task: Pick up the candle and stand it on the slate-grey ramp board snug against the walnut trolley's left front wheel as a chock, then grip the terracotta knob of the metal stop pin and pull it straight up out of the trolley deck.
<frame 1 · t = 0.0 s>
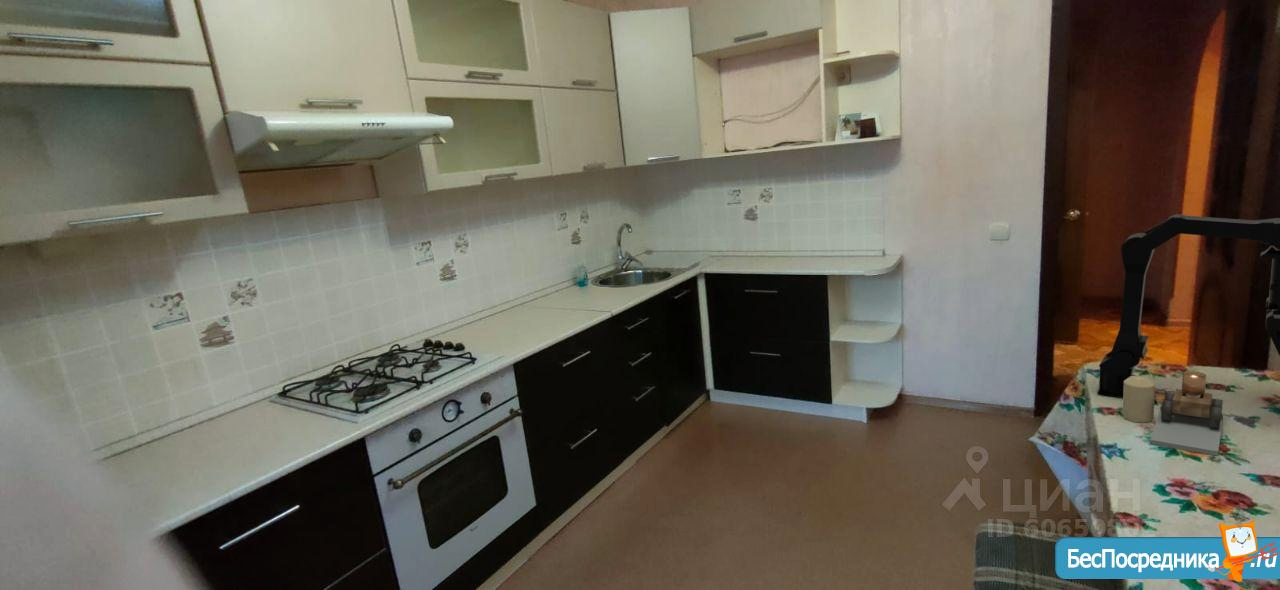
ramp board: (1186, 432, 133), on the table
stop pin: (1193, 393, 136), point 6 cm above the table, slide at 0.5 cm, touching ramp board
candle: (1137, 418, 142), on the table
trolley: (1190, 423, 137), resting on ramp board
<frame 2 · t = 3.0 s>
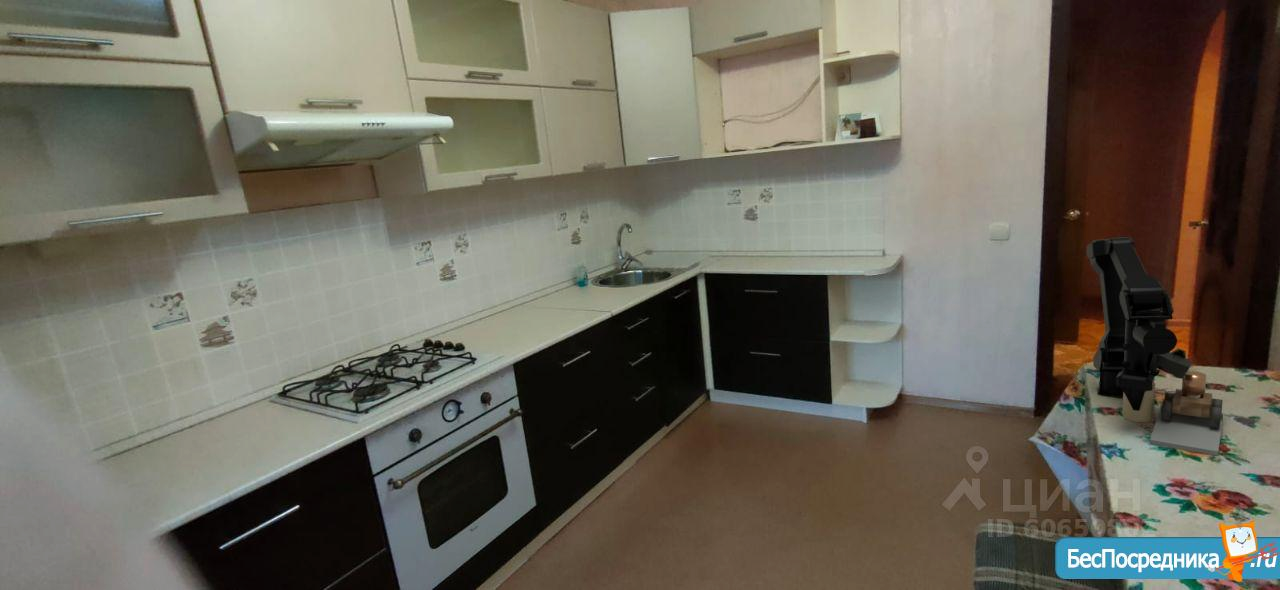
hand: (1138, 405, 142), 3 cm above the table, tool pointing down, fingers closed on candle, 5 cm apart
candle: (1137, 418, 142), on the table, touching gripper
everything else where it was.
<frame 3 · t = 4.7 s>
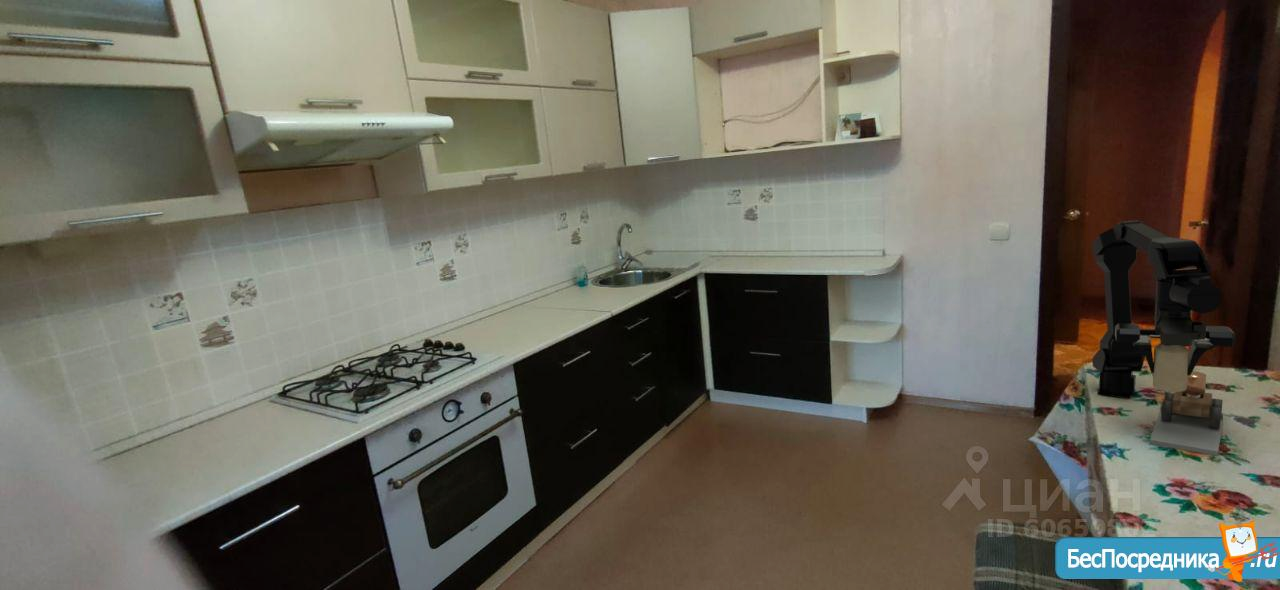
hand: (1170, 373, 132), 13 cm above the table, tool pointing down, fingers closed on candle, 5 cm apart
candle: (1169, 388, 132), point 10 cm above the table, touching gripper
everything else where it was.
when the fingers open (5 cm above the table, at t = 6.8 s): candle stays where it is, resting on ramp board.
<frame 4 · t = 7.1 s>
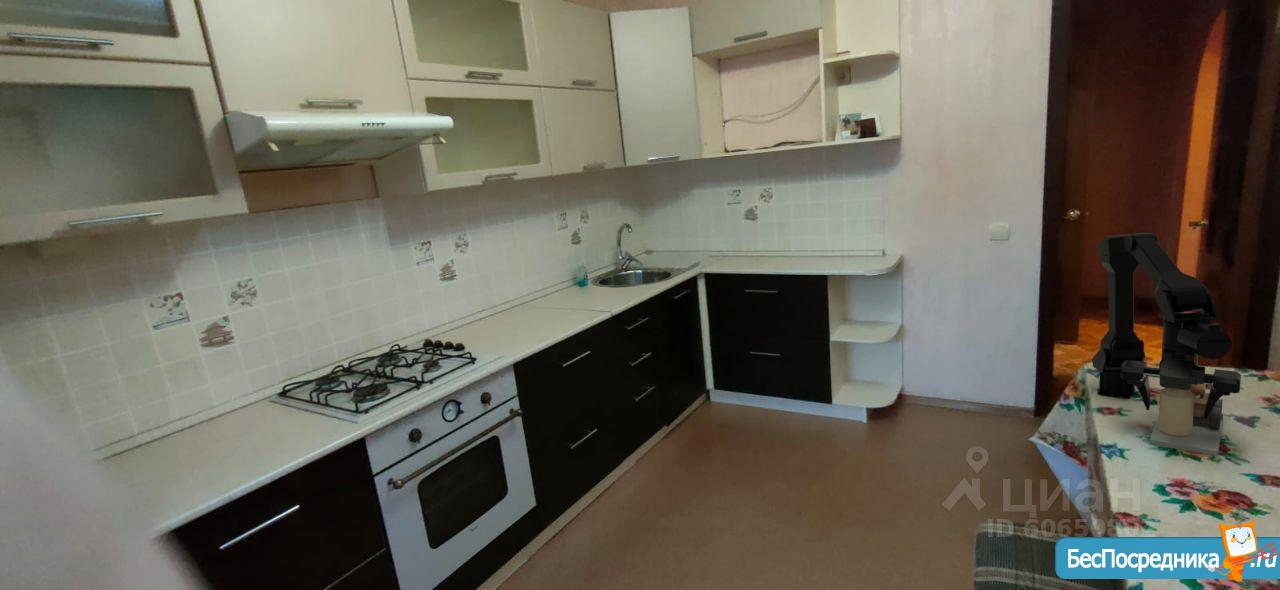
hand: (1176, 413, 132), 5 cm above the table, tool pointing down, fingers open, 9 cm apart
candle: (1174, 432, 133), point 1 cm above the table, touching ramp board
everything else where it was.
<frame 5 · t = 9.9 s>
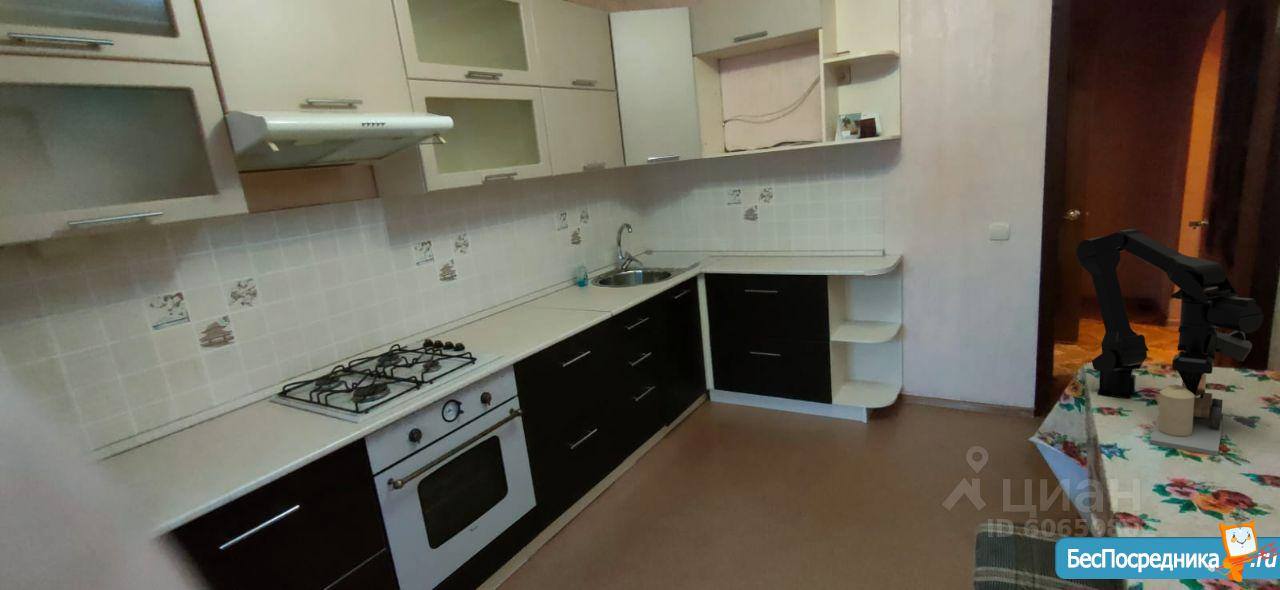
hand: (1193, 390, 136), 7 cm above the table, tool pointing down, fingers closed on stop pin, 4 cm apart
stop pin: (1193, 393, 136), point 6 cm above the table, slide at 0.5 cm, touching gripper, ramp board
everything else where it was.
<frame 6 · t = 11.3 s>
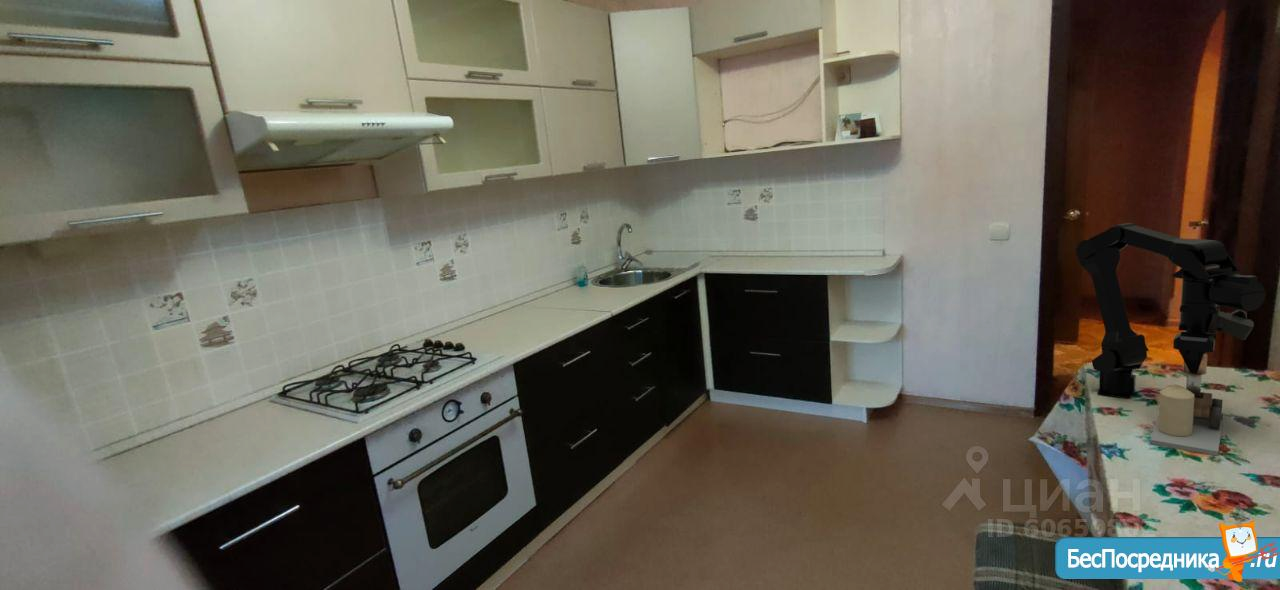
hand: (1194, 370, 135), 12 cm above the table, tool pointing down, fingers closed on stop pin, 4 cm apart
stop pin: (1194, 373, 135), point 11 cm above the table, slide at 5.1 cm, touching gripper
everything else where it was.
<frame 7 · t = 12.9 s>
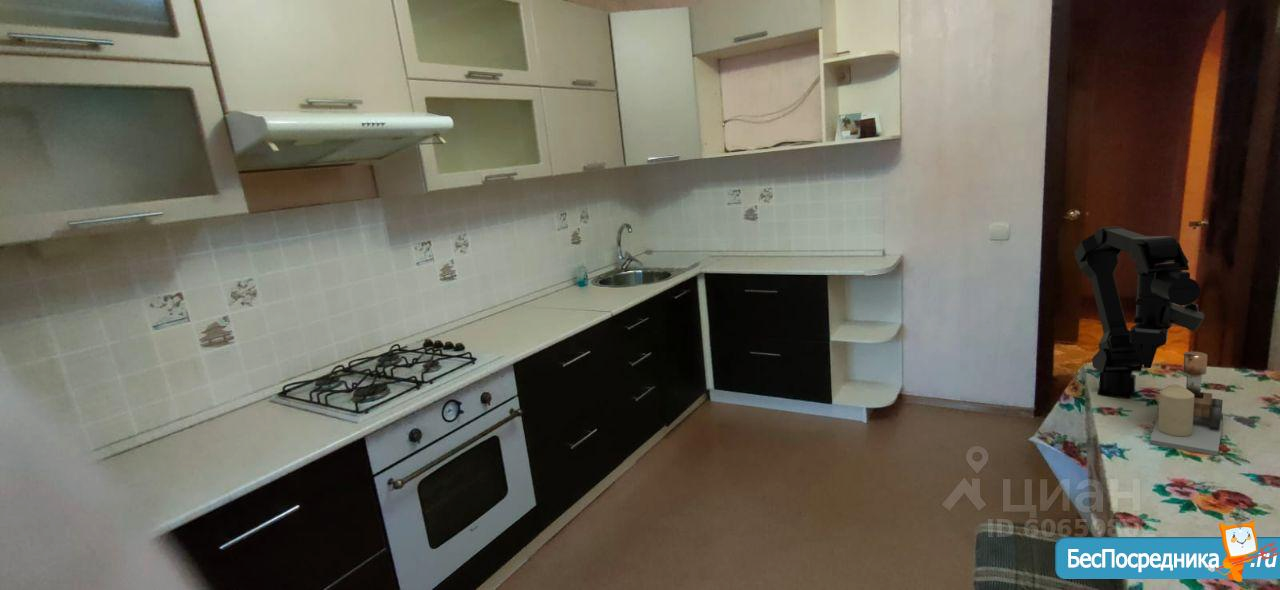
hand: (1149, 361, 140), 13 cm above the table, tool pointing down, fingers open, 9 cm apart
stop pin: (1194, 374, 135), point 11 cm above the table, slide at 5.1 cm
everything else where it was.
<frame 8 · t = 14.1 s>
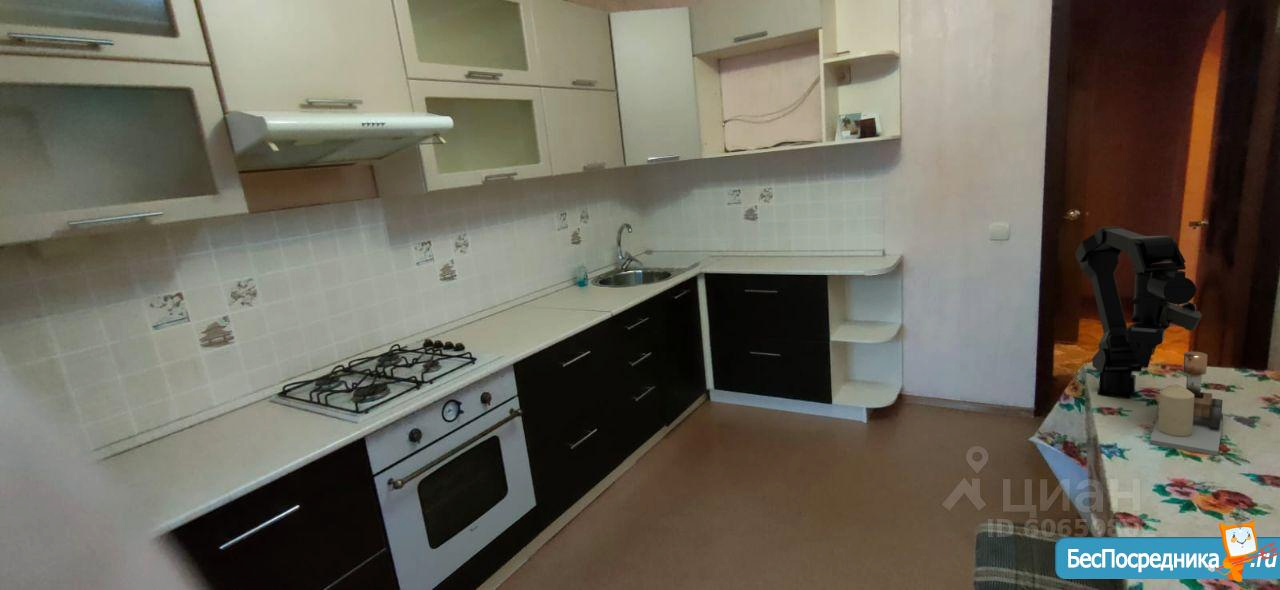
hand: (1147, 360, 141), 13 cm above the table, tool pointing down, fingers open, 9 cm apart
nothing on the table moved.
at the end: candle 0.5 cm from the target spot, point 0.8 cm above the table; candle tilted 0°; stop pin slide at 5.1 cm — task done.
